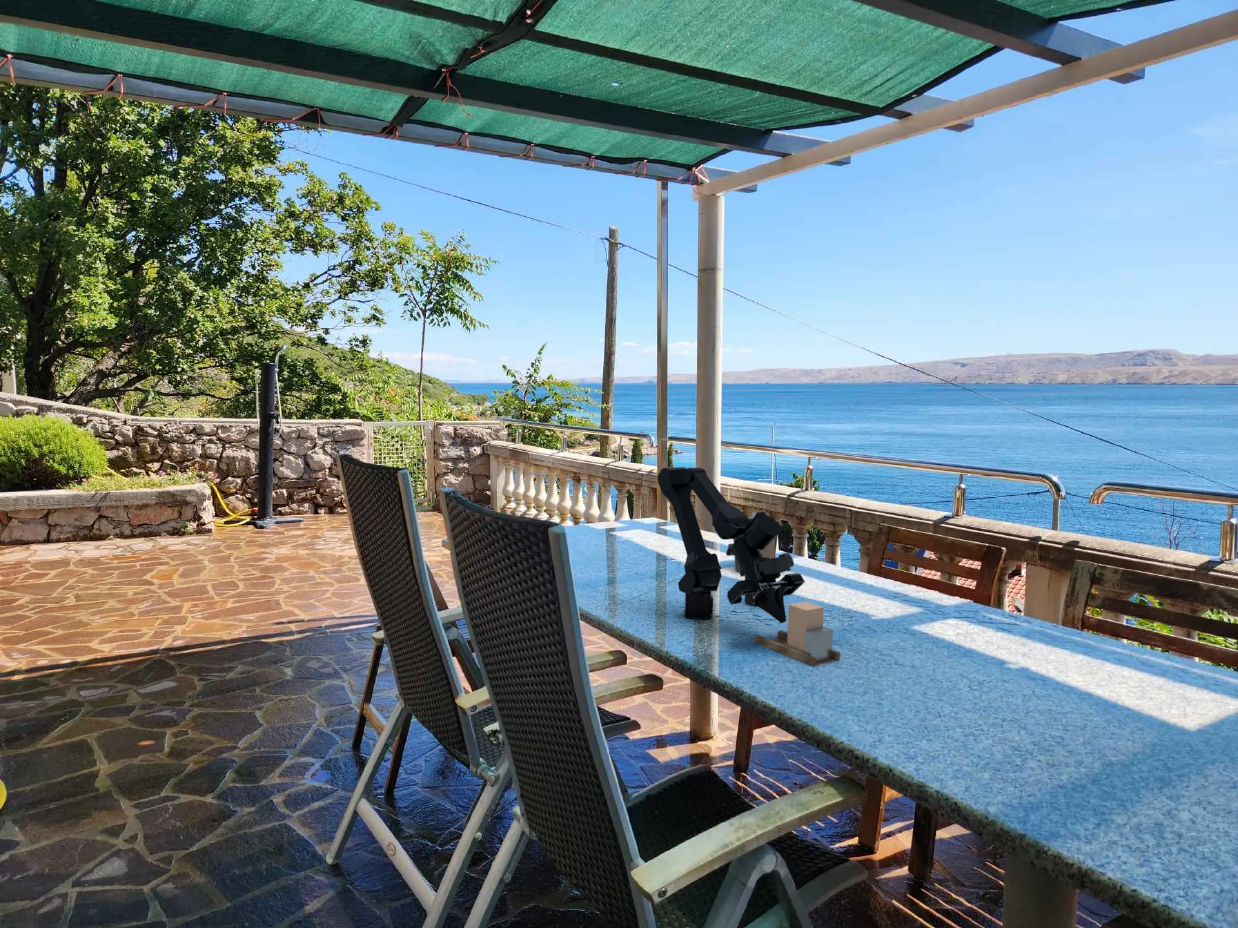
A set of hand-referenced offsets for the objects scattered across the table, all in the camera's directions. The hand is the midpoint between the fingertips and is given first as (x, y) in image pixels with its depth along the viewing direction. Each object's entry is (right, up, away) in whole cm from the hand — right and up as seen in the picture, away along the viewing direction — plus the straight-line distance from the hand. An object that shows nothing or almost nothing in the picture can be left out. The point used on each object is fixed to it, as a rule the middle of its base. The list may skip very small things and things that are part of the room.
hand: (784, 621), depth 163 cm
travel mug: (+2, -3, +39) cm, 39 cm away
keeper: (+3, -6, -5) cm, 8 cm away
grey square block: (+5, -7, -8) cm, 12 cm away
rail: (+2, -6, -3) cm, 7 cm away
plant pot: (+7, 0, +78) cm, 79 cm away
